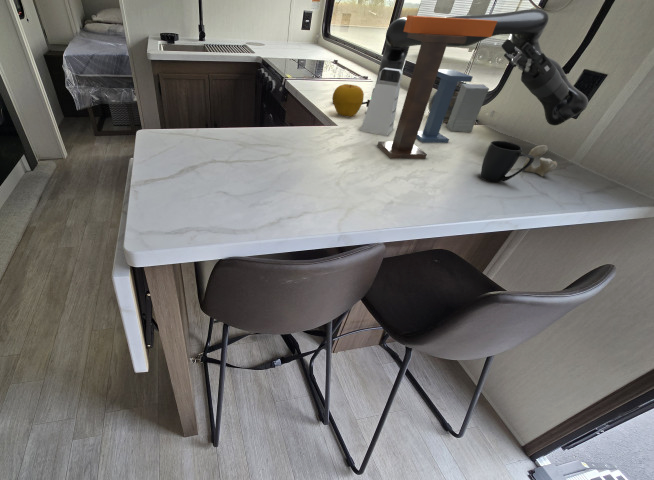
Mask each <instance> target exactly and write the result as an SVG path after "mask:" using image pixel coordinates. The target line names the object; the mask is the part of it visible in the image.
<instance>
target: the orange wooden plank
mask: <svg viewBox="0 0 654 480" xmlns="http://www.w3.org/2000/svg"><path fill="white" fill-rule="evenodd" d="M446 17H447V16H445V17H444V16H430V15H429V16H428V15H412V14H411V15H409V14H408V15H407V16H406V18H407V19H406V23H405V27H404V32H408V33H420V34H440V35H459V36H478V37H489V38H492V37H493V36H492V34H493V31H494V28H495V26H496V23H497V21H493V20H481V19H463V18H446ZM491 36H492V37H491Z"/></svg>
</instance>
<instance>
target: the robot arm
mask: <svg viewBox="0 0 654 480" xmlns="http://www.w3.org/2000/svg"><path fill="white" fill-rule="evenodd" d="M445 17H446V18H463V19H481V20H493V21H497V23H496V26H495V28H494V31H493V34H492V36H491V37H478V36H465V37H467V39H466V41H465V44H460V43H447V46H446V48H467V47H469V46H473V45H474V44H477V43H480V42H482V41H484V40H486V39H489V38H492V37H495V36H500V35H502V36H503V35H509V37H508V38H507V39H505V41H504V42H503V43H502V44H501V49H502V50H503V51H504V52H505V53H504V54H503V57H504V58H505V59H506V60H507V61H508V62H509V63H510V65H511V66H512V67H513V68H516V67H517V69H518V70H519V71H522V72H521V74H520V81H521V82H522V83H523V85H524V86H525V87H526V88H527V90H528V91H529V92H530V93H531V94H532V95H533V96H534V97H535V98H536V99H537V100H538V101H539V102H540V103H541V105H542V107H543V112H544V118H545V120H546V122H547V123H548V124H549V125H550V126H559V125H561V124H563V123H565V122H566V121H568V120H570V119H572V118H573V117H575V116H577V115H579V114H581V113H582V112H584V111H585V110H586V109H587V108H588V105H589V99H588V96H587V95H586V94H584V93H583V92H582V91H580V89H578V88H576V87H575V86H574V85H573V84H572V83H571V82H570V81H569V79H568V77H567V74H566V73H565V71H564V69H563V68H562V66H561V65H560V63H559V62H558V61H556V60H555V59H553V58H551V57H549V56H547V55H546V54H545V53H544V52H543V51H542V48H541V45H540V38H541V36H542V34H543V32H544V31H545V29H546V27H547V25H548V23H549V14H548V12H547V11H546V10H543V9H540V8H529V9H527V8H526V9H519V10H514V11H508V12H499V13H486V14H462V15H451V16H445ZM406 19H407V17H400V18H397V19H395V20H393V21H392V22H391V23H390V24H389V26H388V27H387V30H386V33H385V40H386V43H385V47H384V52H383V54H382V56H381V60H380V64H379V67H378V73H377V77H376V81H375V84H376V83H377V81H378V77H379V72H380V71H381V70H382V69H383V70H382V72H381V77H380V80H382V81H389V82H396V83H399V79H400V75H401V74H400V72H399V71H395V70H387V69H384V68H392V69H400V70H401V71H402V72H403V70H404V66H405V64H406V61H407V57H408V55H409V49H410V47H416V46H421V43H422V41H419V40H415V39H411V38H407V36H408V32H404V27H405V23H406ZM373 91H374V88H372V92H371V95H370V98H368V99H367V101H363V102H362V105H361V106H363V105H365V107H366V108H368V105H369V102H370V100H371V97H372V94H373ZM332 105H334V104H333V102H332Z"/></svg>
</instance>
